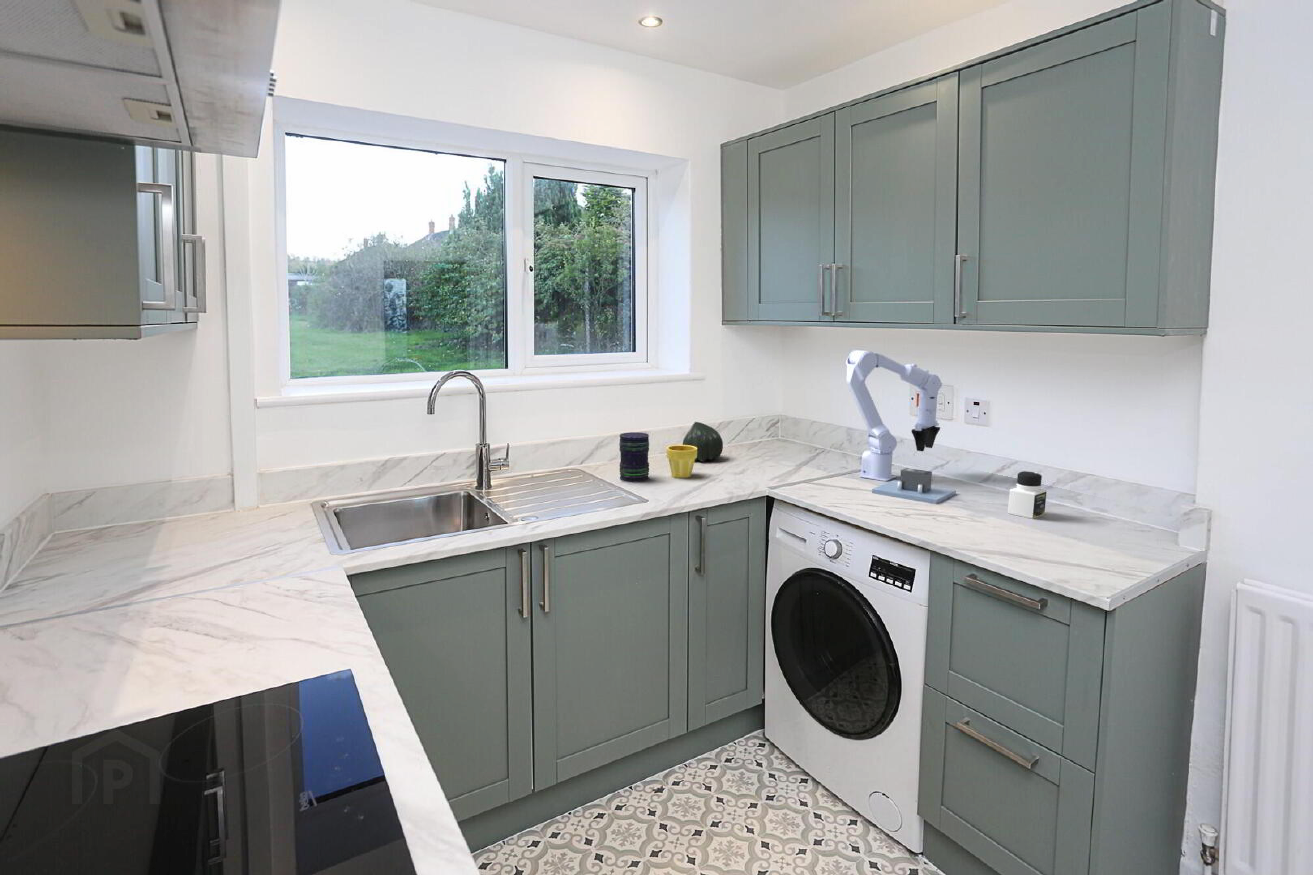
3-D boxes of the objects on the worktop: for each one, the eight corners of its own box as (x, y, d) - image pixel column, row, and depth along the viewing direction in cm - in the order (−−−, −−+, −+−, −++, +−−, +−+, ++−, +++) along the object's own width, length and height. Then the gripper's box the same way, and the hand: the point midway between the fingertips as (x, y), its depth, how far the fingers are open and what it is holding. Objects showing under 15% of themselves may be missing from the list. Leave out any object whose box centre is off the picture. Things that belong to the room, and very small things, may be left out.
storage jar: (650, 475, 256) (650, 432, 253) (647, 482, 246) (647, 437, 244) (621, 475, 257) (621, 432, 254) (617, 481, 247) (617, 437, 245)
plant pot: (697, 479, 251) (697, 450, 249) (666, 479, 251) (666, 450, 250) (696, 472, 261) (696, 444, 260) (666, 472, 262) (666, 444, 260)
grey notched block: (899, 489, 234) (900, 469, 233) (905, 486, 238) (906, 467, 237) (925, 493, 229) (926, 473, 228) (930, 490, 232) (932, 471, 231)
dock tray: (872, 492, 234) (872, 480, 234) (893, 483, 246) (894, 472, 246) (936, 504, 221) (937, 491, 221) (955, 493, 233) (956, 481, 233)
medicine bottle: (1033, 519, 206) (1037, 476, 204) (1007, 513, 212) (1010, 472, 209) (1044, 514, 211) (1048, 472, 209) (1019, 509, 216) (1022, 468, 214)
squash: (734, 448, 277) (718, 414, 283) (700, 453, 270) (684, 418, 276) (718, 467, 288) (703, 434, 294) (685, 473, 281) (670, 439, 287)
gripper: (930, 412, 245) (928, 453, 247) (947, 408, 256) (944, 447, 258) (909, 410, 249) (907, 451, 252) (926, 406, 260) (924, 445, 263)
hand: (924, 449), depth 255 cm, fingers open, 7 cm apart
